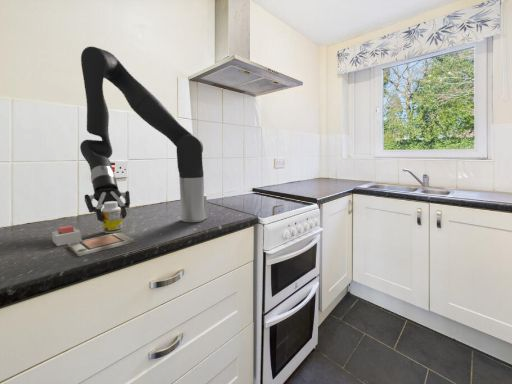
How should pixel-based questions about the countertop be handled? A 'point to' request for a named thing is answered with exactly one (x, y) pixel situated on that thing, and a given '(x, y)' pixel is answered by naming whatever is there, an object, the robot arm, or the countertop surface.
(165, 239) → the countertop surface
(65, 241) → the button housing
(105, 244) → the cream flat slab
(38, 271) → the countertop surface
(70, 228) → the button
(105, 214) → the supplement bottle
